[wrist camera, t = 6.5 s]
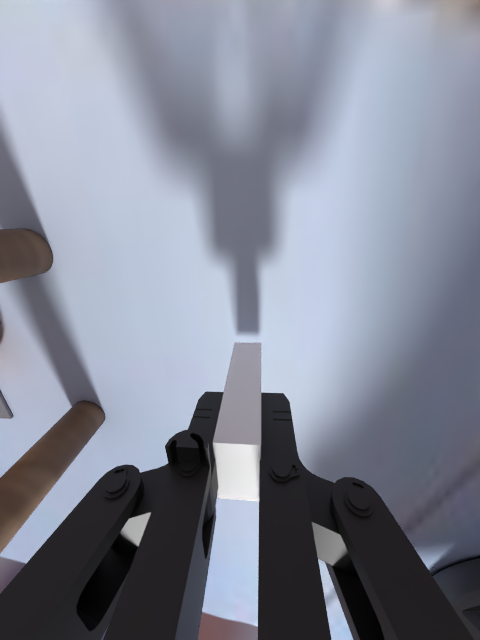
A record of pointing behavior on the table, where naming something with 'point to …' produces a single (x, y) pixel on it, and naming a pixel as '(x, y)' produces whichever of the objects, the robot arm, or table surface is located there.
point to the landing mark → (4, 409)
